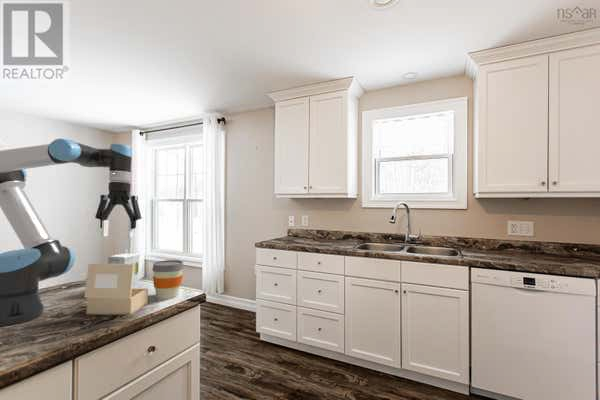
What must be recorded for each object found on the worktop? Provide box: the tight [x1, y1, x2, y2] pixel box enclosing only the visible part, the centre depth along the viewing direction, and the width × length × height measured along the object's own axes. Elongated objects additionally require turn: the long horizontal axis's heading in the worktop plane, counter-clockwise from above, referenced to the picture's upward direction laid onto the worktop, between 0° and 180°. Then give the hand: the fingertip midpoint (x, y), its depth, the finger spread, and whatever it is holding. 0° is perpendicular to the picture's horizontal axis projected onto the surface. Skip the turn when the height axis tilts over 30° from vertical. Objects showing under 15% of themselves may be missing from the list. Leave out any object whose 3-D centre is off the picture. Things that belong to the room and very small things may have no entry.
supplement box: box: [107, 252, 140, 289], centre depth 129 cm, size 10×9×17 cm
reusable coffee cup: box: [152, 259, 184, 301], centre depth 123 cm, size 13×13×15 cm
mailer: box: [86, 288, 149, 316], centre depth 107 cm, size 16×12×6 cm
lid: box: [84, 263, 134, 299], centre depth 101 cm, size 16×12×1 cm
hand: (117, 236), depth 112 cm, fingers open, 10 cm apart
